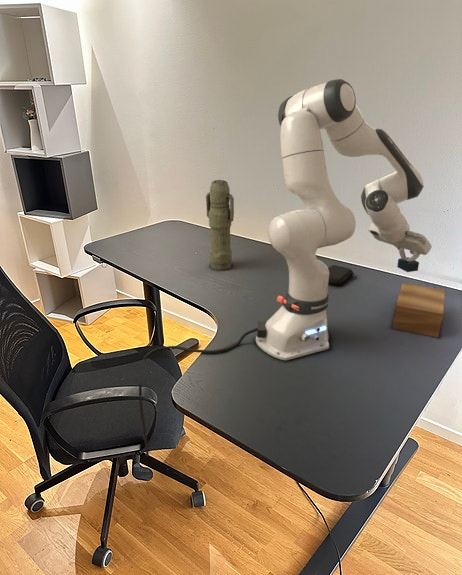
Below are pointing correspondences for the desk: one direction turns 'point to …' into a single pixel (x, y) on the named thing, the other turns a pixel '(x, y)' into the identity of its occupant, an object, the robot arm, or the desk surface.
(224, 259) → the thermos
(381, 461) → the desk surface
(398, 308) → the wooden display stand
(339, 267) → the carrying case
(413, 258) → the watch
